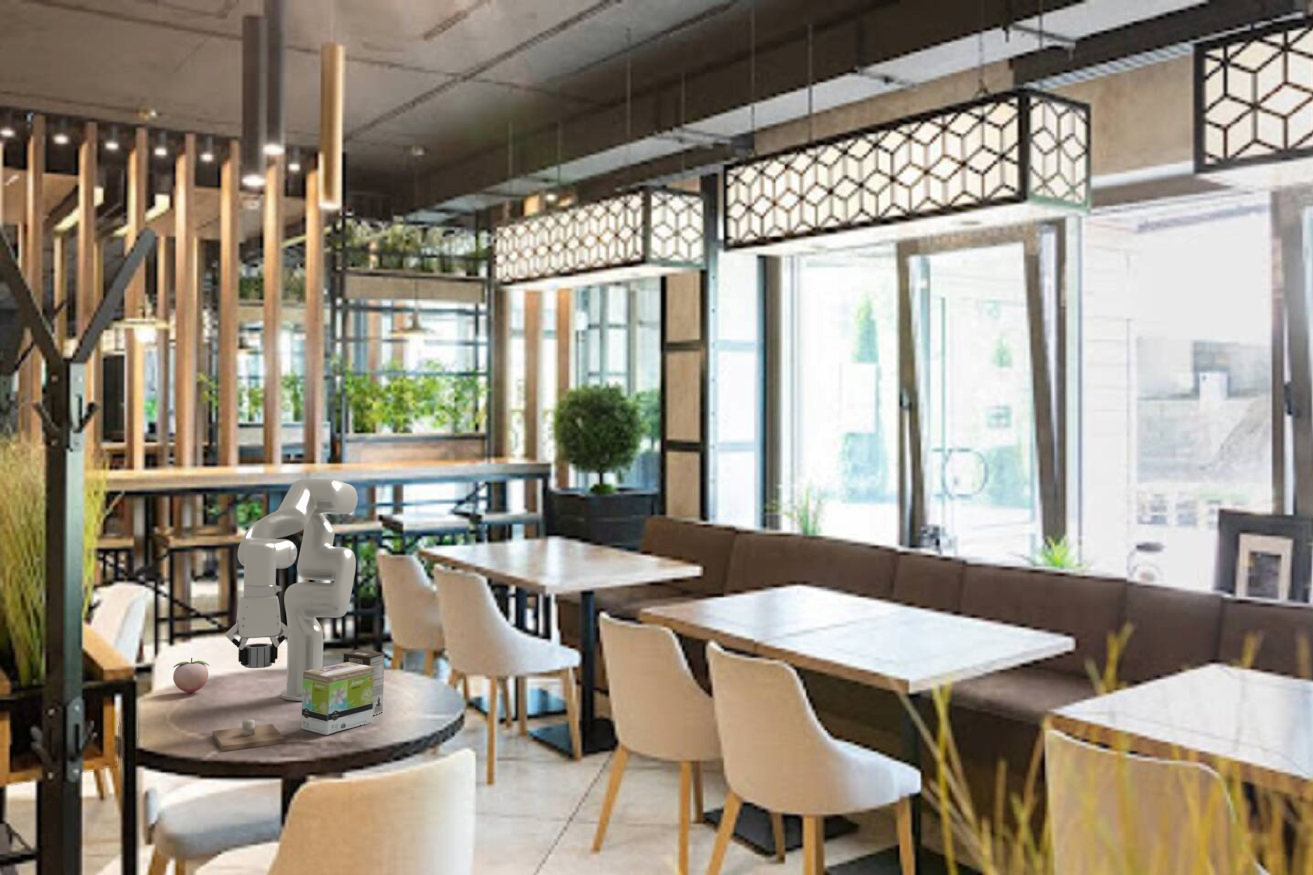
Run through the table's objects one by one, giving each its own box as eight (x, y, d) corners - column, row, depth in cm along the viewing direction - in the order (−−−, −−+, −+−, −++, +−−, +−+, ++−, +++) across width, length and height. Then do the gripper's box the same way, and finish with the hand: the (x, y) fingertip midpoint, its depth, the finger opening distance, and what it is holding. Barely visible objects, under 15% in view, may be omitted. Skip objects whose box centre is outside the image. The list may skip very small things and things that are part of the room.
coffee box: (340, 713, 292) (341, 652, 292) (357, 708, 298) (357, 648, 298) (368, 718, 288) (369, 656, 288) (384, 712, 294) (385, 652, 294)
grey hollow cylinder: (268, 662, 282) (268, 642, 282) (274, 666, 276) (274, 646, 276) (242, 664, 279) (242, 644, 279) (247, 668, 273) (247, 648, 273)
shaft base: (271, 728, 277) (272, 710, 277) (284, 743, 265) (285, 724, 265) (212, 735, 270) (212, 717, 270) (222, 751, 258) (223, 732, 258)
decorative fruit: (178, 699, 303) (178, 662, 303) (169, 693, 310) (170, 657, 310) (213, 694, 309) (214, 658, 309) (204, 688, 316) (204, 653, 315)
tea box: (328, 736, 272) (329, 676, 271) (300, 729, 277) (301, 670, 277) (374, 722, 284) (375, 665, 284) (346, 716, 290) (347, 660, 289)
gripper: (291, 588, 285) (290, 658, 285) (220, 591, 276) (218, 663, 276) (298, 591, 279) (296, 663, 279) (225, 595, 270) (223, 669, 270)
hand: (257, 662), depth 278 cm, fingers closed on grey hollow cylinder, 6 cm apart
